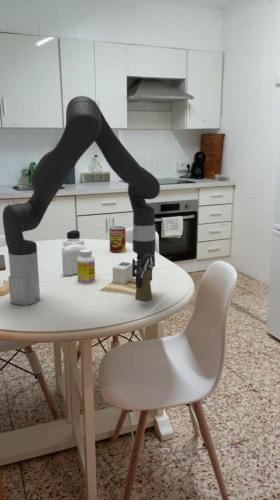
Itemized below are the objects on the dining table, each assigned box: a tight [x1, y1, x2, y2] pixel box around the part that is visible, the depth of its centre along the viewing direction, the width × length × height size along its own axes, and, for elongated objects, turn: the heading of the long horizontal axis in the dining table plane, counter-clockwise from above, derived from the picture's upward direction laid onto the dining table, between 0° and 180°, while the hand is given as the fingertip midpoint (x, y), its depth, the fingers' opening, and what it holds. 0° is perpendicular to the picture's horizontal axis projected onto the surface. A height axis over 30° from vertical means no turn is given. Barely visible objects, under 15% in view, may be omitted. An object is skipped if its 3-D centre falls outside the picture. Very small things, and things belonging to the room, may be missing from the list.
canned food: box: [109, 225, 127, 254], centre depth 202 cm, size 8×8×12 cm
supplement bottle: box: [77, 248, 96, 285], centre depth 157 cm, size 7×7×13 cm
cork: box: [134, 268, 153, 302], centre depth 140 cm, size 6×6×11 cm
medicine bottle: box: [62, 229, 85, 249], centre depth 194 cm, size 7×7×12 cm
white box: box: [112, 261, 134, 284], centre depth 158 cm, size 8×5×6 cm, turn 157°
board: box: [99, 278, 153, 297], centre depth 153 cm, size 17×14×1 cm
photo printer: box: [61, 244, 87, 277], centre depth 167 cm, size 10×4×12 cm, turn 123°
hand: (144, 284), depth 139 cm, fingers open, 8 cm apart
